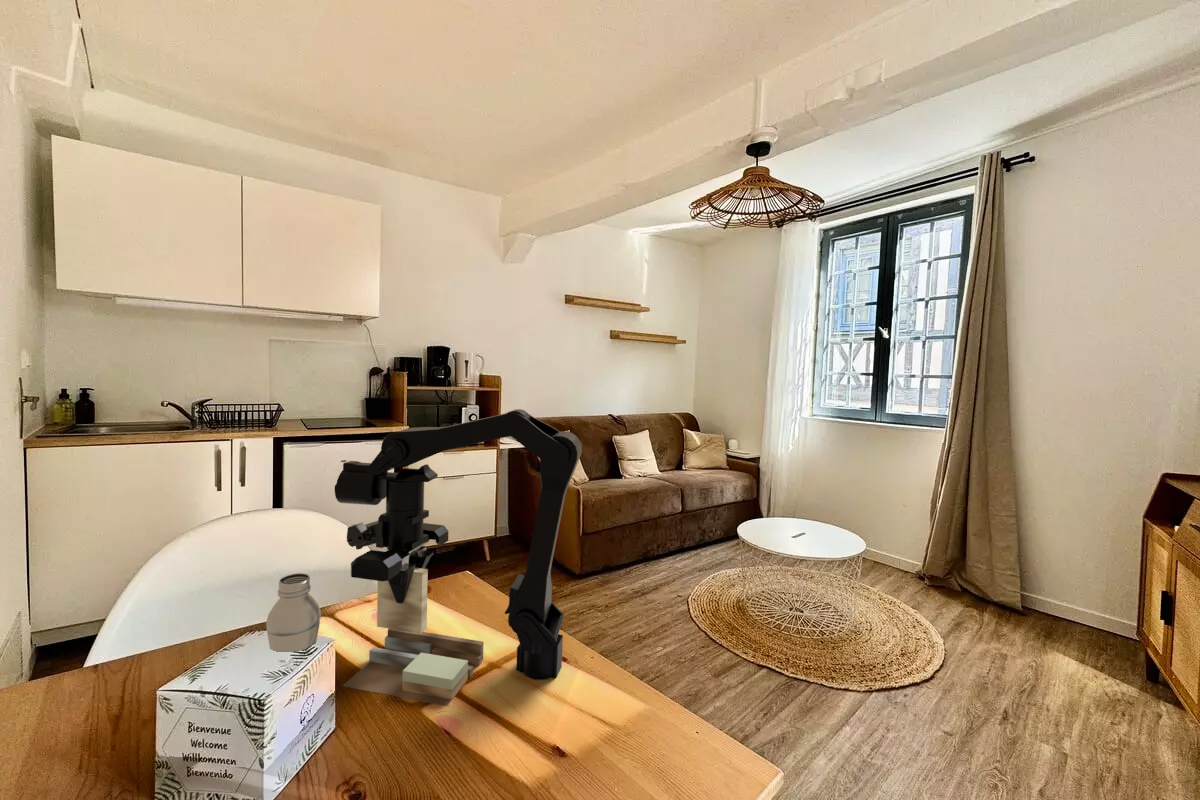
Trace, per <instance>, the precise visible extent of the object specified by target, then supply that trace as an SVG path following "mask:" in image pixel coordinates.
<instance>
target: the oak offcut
mask: <svg viewBox="0 0 1200 800" xmlns="http://www.w3.org/2000/svg"><path fill="white" fill-rule="evenodd" d="M467 679H468V680H469V678H468V670H467V672H466V673H465V674H464V675H463V677H462V678H461V679H460V680H459V682H458V683H457V684H456V686H455V687H454V688H453V689H452V690H451V689H445V688H440V687H434V686H429V685H424V684H418V683H413V682H407V681H402V690H403V691H408V692H414V693H419V694H424V695H430V696H435V697H440V698H446V699H451V701H453V699H454V698H455V697H456V695H457V694H458V693H459V692H460V691H461V689H462V687H463V686H464V685H465V684H464V683H466V682H467V681H468V680H467ZM460 688H461V689H460ZM457 692H458V693H457ZM454 696H455V697H454Z"/></svg>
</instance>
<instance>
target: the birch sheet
mask: <svg viewBox="0 0 1200 800" xmlns="http://www.w3.org/2000/svg"><path fill="white" fill-rule="evenodd" d="M428 574H429V569H428V568H425V569H422V568H415V569H414V572H413V575H412V578H411V581H410V585H409V588H408V591H407V594H406V597H405V600H404V602H403V603H402V604H401V603H397V602H396V600H395V597H394V595H393V592H392V590H391V587H390V584H389V582H388V581H377V596H376V597H377V598H376V599H377V601H376V602H377V605H376V606H377V607H376V608H377V609H376V611H377V612H376V613H377V614H376V615H377V617H376V627H377V628H382V629H395V630H402V631H408V632H414V633H423V632H426V630H427V627H428V625H427V624H428V582H429V581H428V578H429V577H428Z"/></svg>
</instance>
